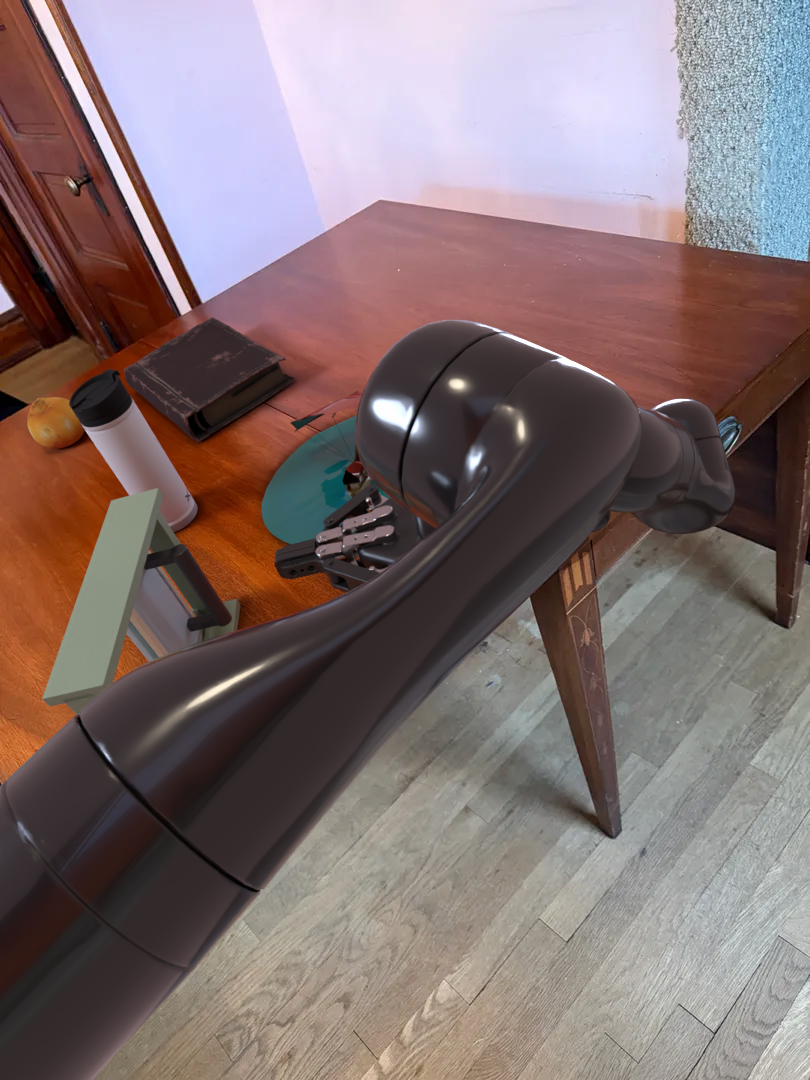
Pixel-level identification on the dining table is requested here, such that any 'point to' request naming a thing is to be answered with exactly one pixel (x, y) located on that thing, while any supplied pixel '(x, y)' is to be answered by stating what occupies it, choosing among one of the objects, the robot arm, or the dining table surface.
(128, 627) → the window frame
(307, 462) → the boat on round base
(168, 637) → the sash
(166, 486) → the travel mug
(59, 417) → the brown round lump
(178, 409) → the diary
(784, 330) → the dining table surface
